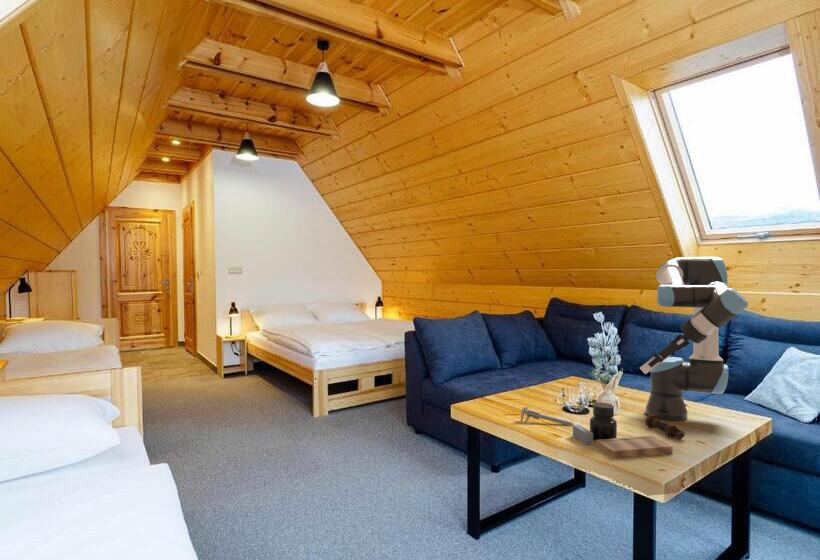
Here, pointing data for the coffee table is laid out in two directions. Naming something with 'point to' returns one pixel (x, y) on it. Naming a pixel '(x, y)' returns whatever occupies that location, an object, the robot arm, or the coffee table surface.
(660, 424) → the bolt
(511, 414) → the coffee table surface
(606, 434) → the ink bottle
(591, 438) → the block
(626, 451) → the board
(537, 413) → the caliper
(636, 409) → the coffee table surface
